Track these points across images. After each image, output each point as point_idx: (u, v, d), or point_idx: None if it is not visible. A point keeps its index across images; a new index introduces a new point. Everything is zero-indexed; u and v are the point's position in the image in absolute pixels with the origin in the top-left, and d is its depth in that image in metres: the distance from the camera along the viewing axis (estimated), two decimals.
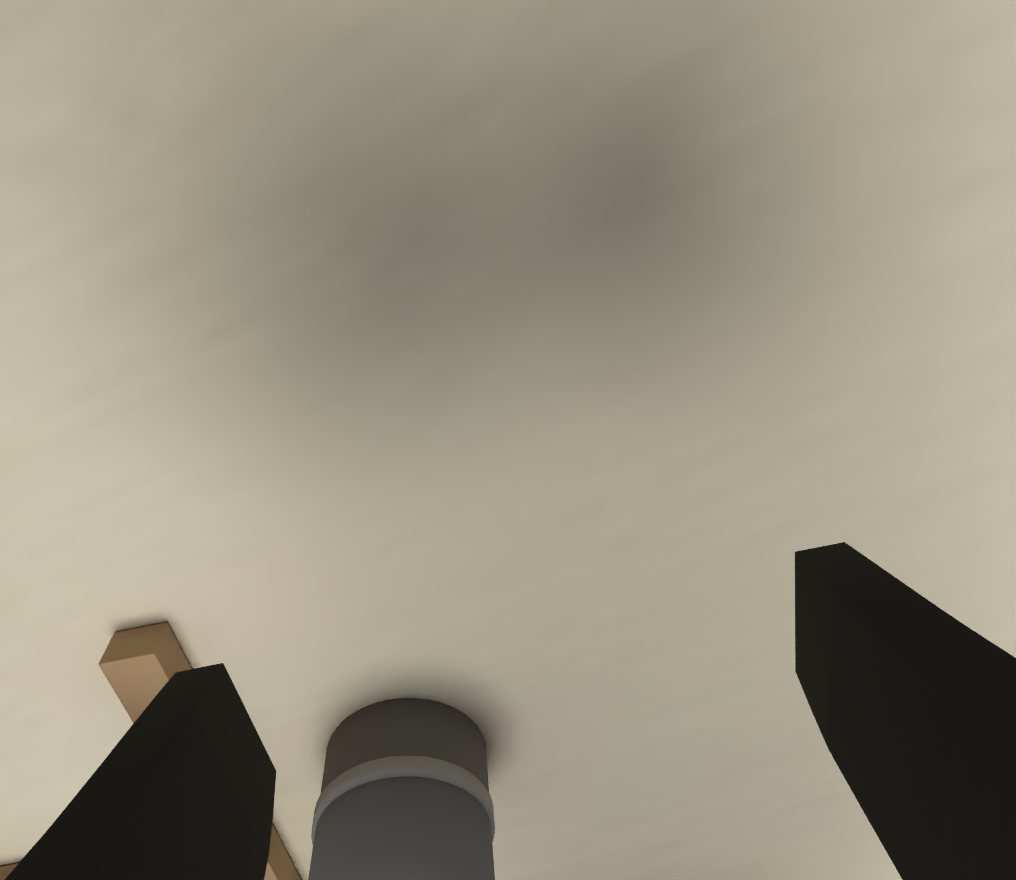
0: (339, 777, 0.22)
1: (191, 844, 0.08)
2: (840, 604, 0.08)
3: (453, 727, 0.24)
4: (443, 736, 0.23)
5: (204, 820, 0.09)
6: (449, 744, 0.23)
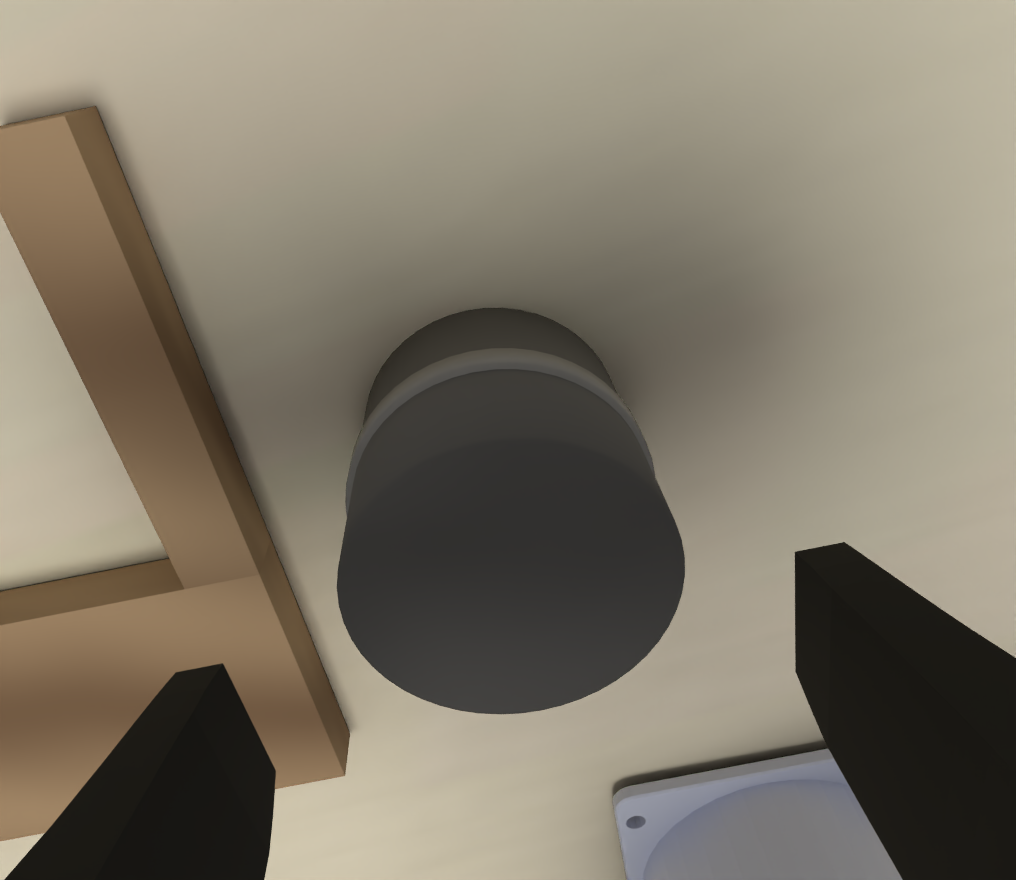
0: (395, 389, 0.13)
1: (190, 844, 0.08)
2: (840, 604, 0.08)
3: (579, 348, 0.14)
4: (566, 349, 0.14)
5: (204, 820, 0.09)
6: (577, 358, 0.14)
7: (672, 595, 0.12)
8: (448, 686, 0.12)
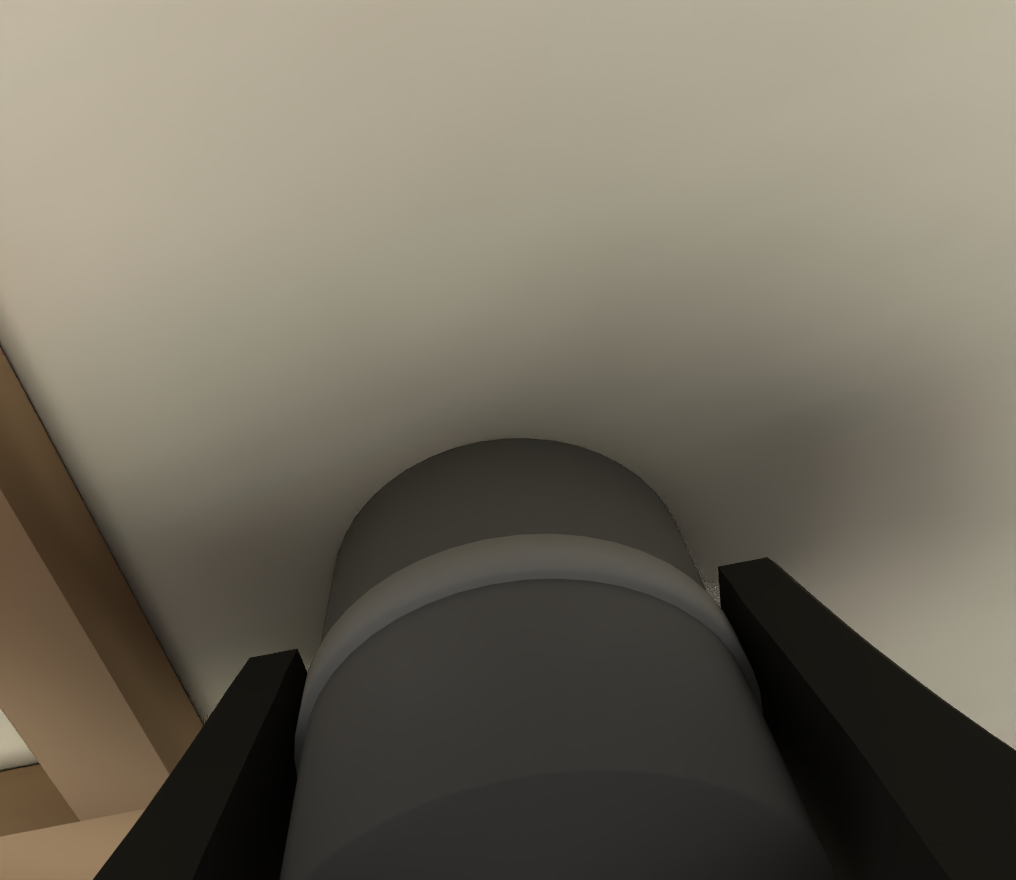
0: (368, 595, 0.08)
1: (277, 828, 0.08)
2: (753, 621, 0.08)
3: (641, 502, 0.10)
4: (625, 512, 0.09)
5: (288, 804, 0.09)
6: (643, 529, 0.09)
7: None
8: None
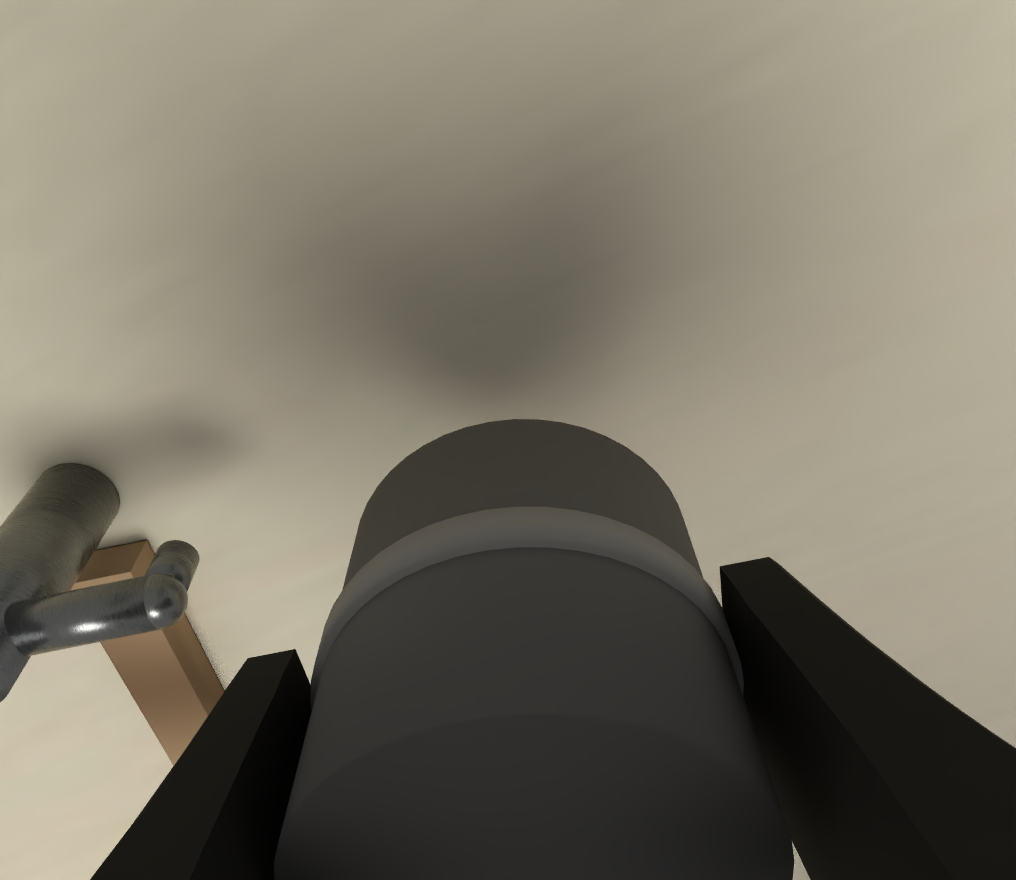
0: (360, 572, 0.09)
1: (275, 828, 0.08)
2: (755, 620, 0.08)
3: (620, 471, 0.10)
4: (600, 481, 0.10)
5: (285, 805, 0.09)
6: (616, 496, 0.10)
7: None
8: None
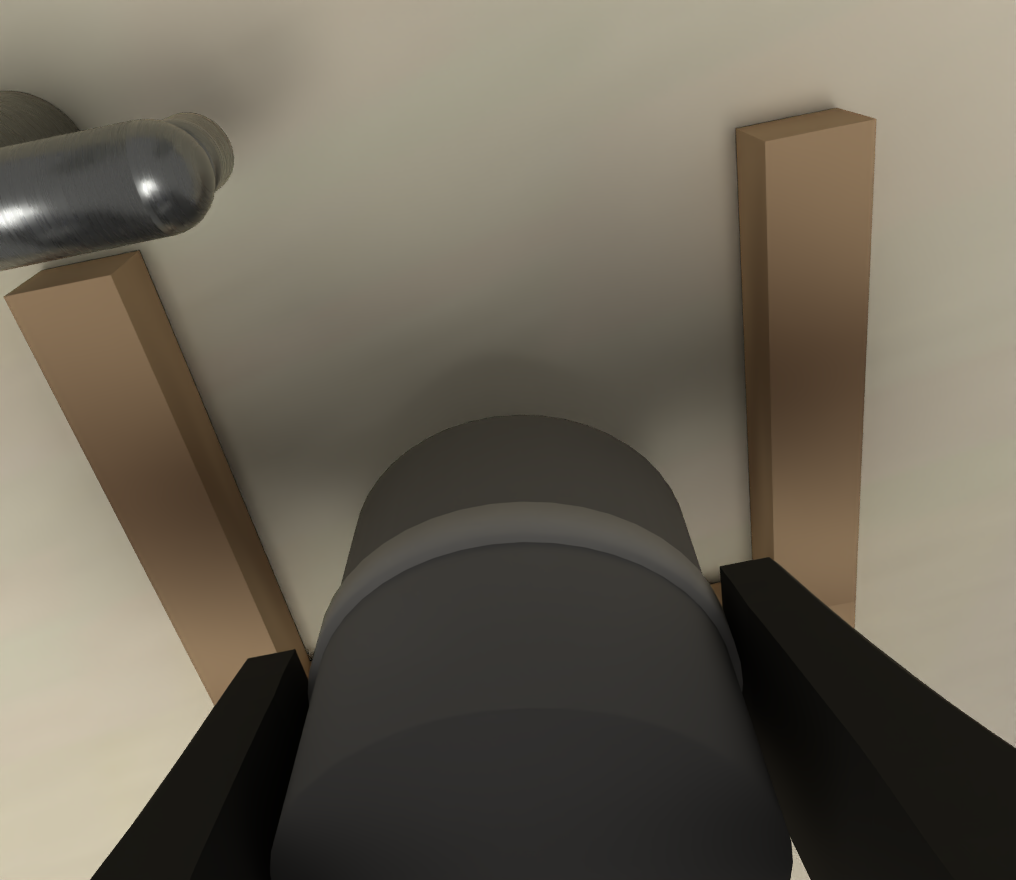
0: (361, 564, 0.09)
1: (275, 828, 0.08)
2: (755, 620, 0.08)
3: (624, 469, 0.10)
4: (604, 479, 0.10)
5: None
6: (620, 494, 0.10)
7: None
8: None
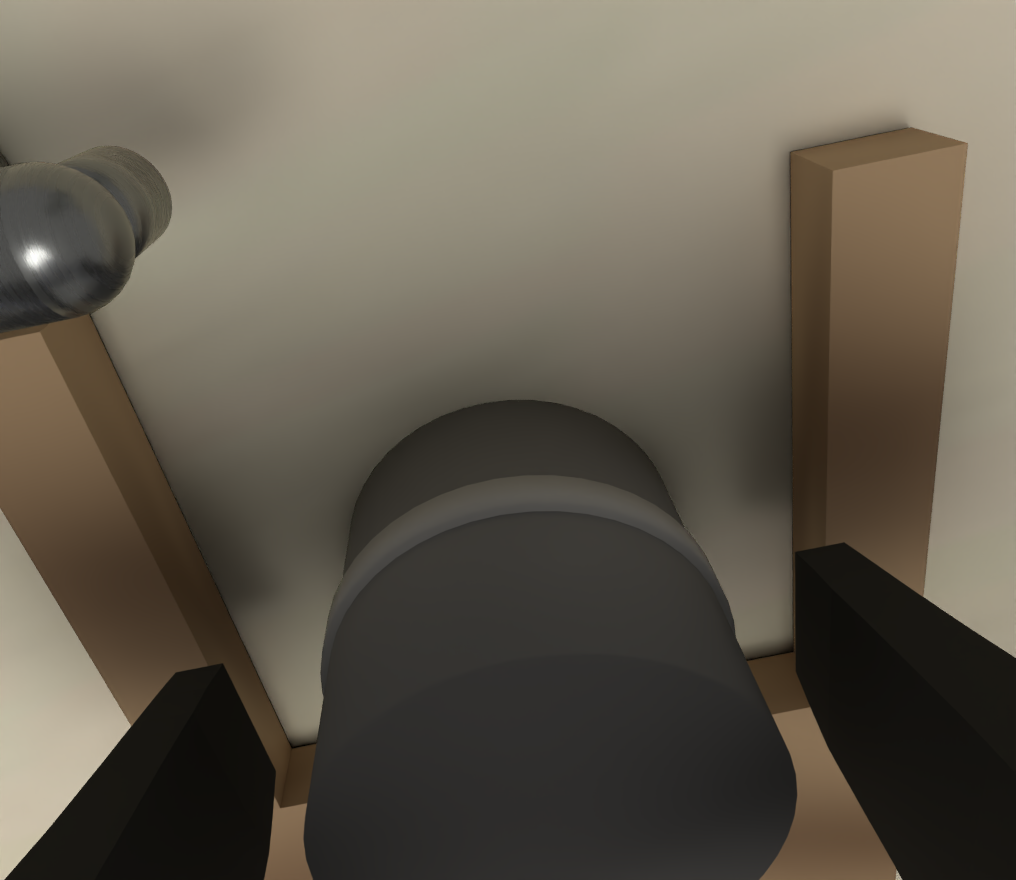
0: (371, 543, 0.10)
1: (190, 844, 0.08)
2: (840, 604, 0.08)
3: (614, 446, 0.11)
4: (597, 455, 0.10)
5: (204, 820, 0.09)
6: (614, 467, 0.10)
7: (781, 820, 0.08)
8: None
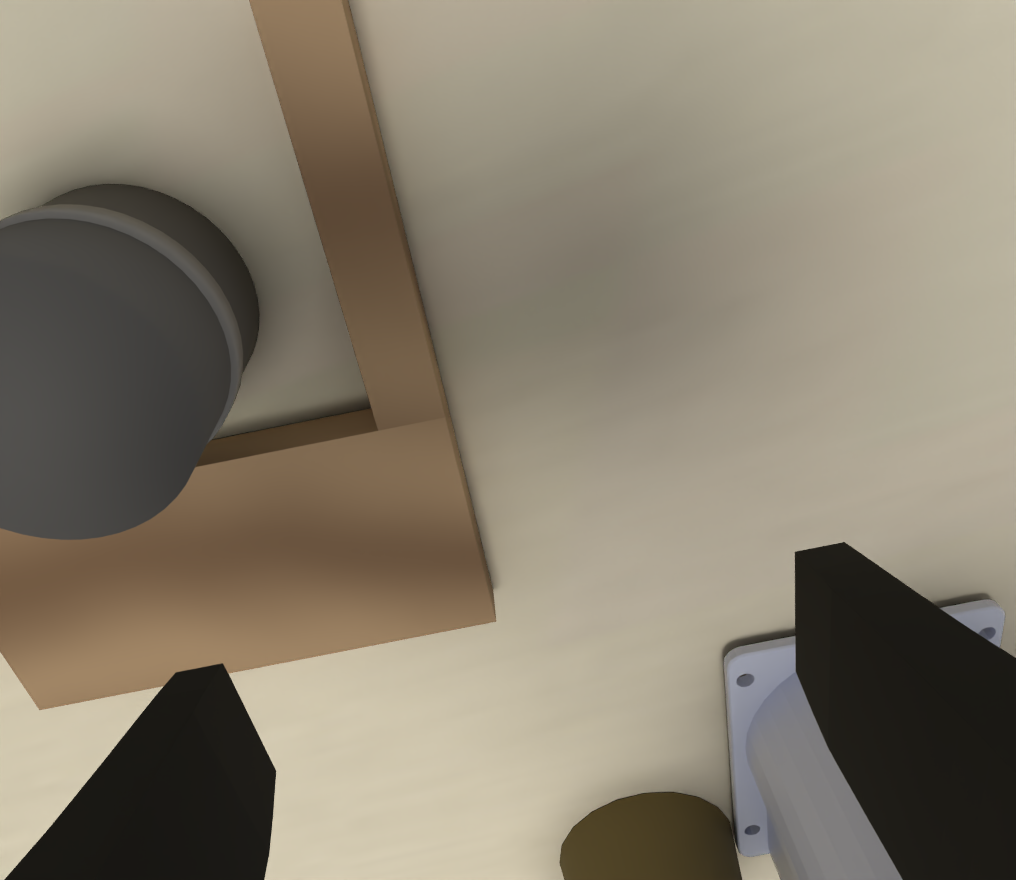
0: None
1: (191, 844, 0.08)
2: (840, 604, 0.08)
3: (170, 211, 0.15)
4: (144, 209, 0.15)
5: (204, 820, 0.09)
6: (151, 215, 0.15)
7: (189, 405, 0.13)
8: (20, 514, 0.14)
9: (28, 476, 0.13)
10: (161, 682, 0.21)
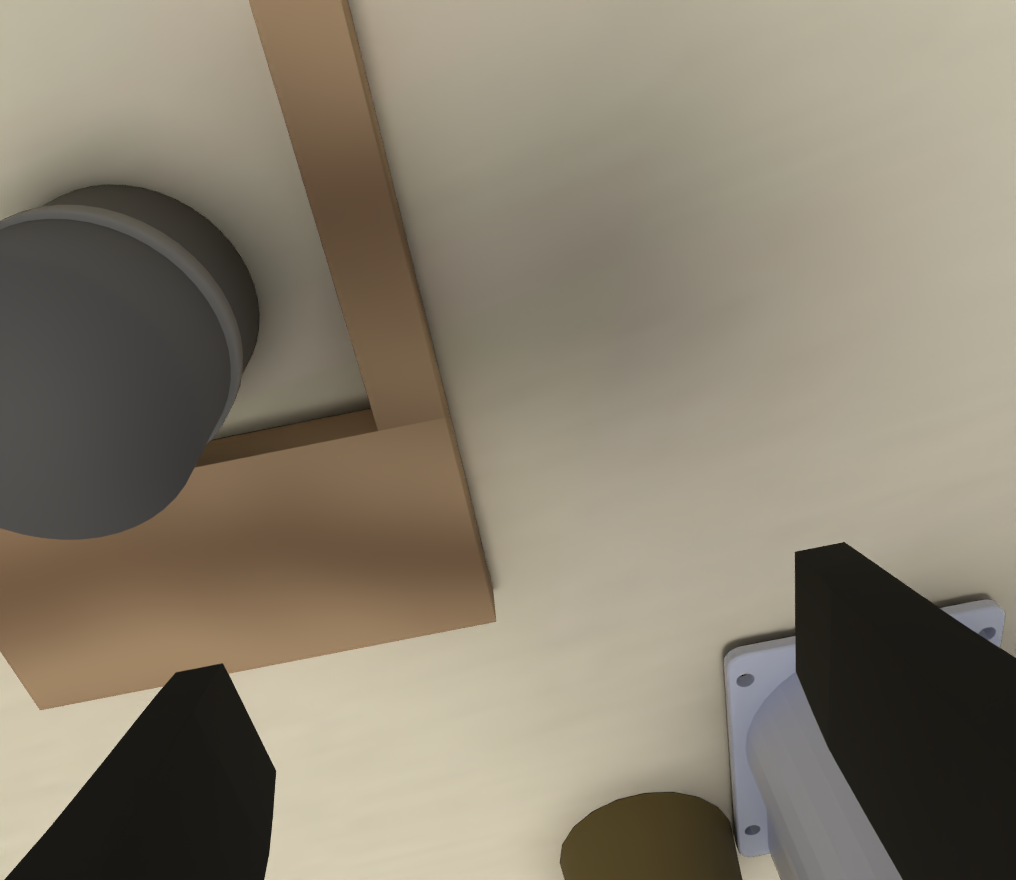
0: None
1: (190, 843, 0.08)
2: (840, 604, 0.08)
3: (171, 212, 0.15)
4: (144, 210, 0.15)
5: (204, 820, 0.09)
6: (151, 216, 0.15)
7: (189, 405, 0.13)
8: (20, 513, 0.14)
9: (28, 476, 0.13)
10: (161, 682, 0.21)
